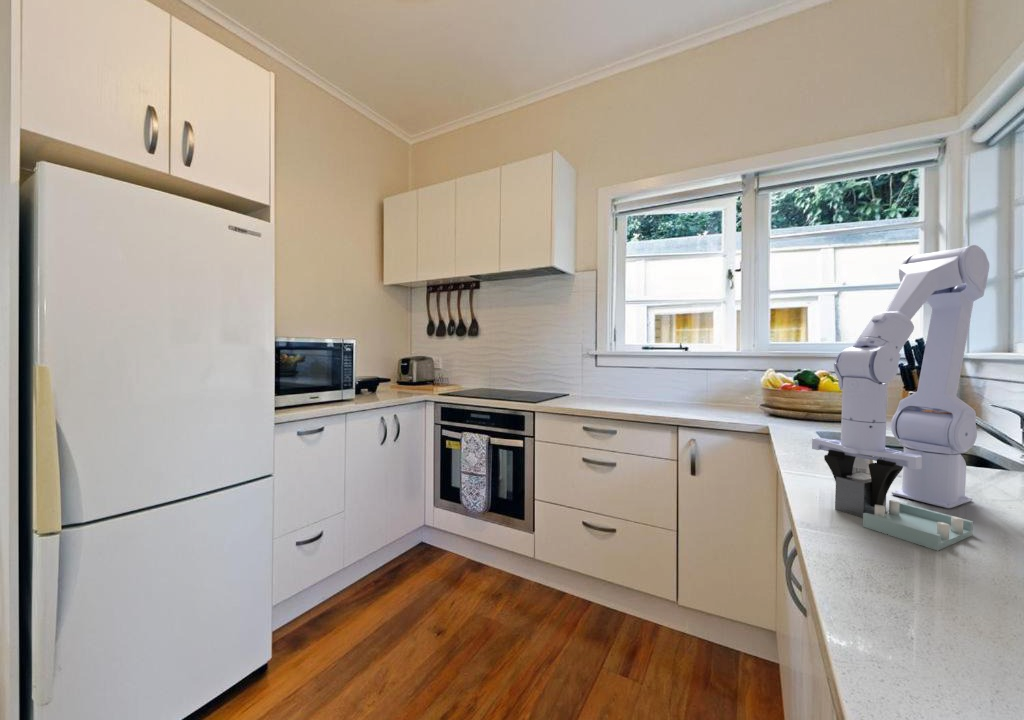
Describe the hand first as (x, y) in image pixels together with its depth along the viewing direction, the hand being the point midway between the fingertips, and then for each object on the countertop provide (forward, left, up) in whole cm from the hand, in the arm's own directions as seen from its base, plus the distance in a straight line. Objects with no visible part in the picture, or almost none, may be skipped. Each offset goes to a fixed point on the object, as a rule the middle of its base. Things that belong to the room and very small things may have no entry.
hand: (860, 501), depth 71 cm
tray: (+2, +8, -1) cm, 8 cm away
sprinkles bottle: (-9, -4, -2) cm, 10 cm away
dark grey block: (0, 0, -1) cm, 1 cm away
